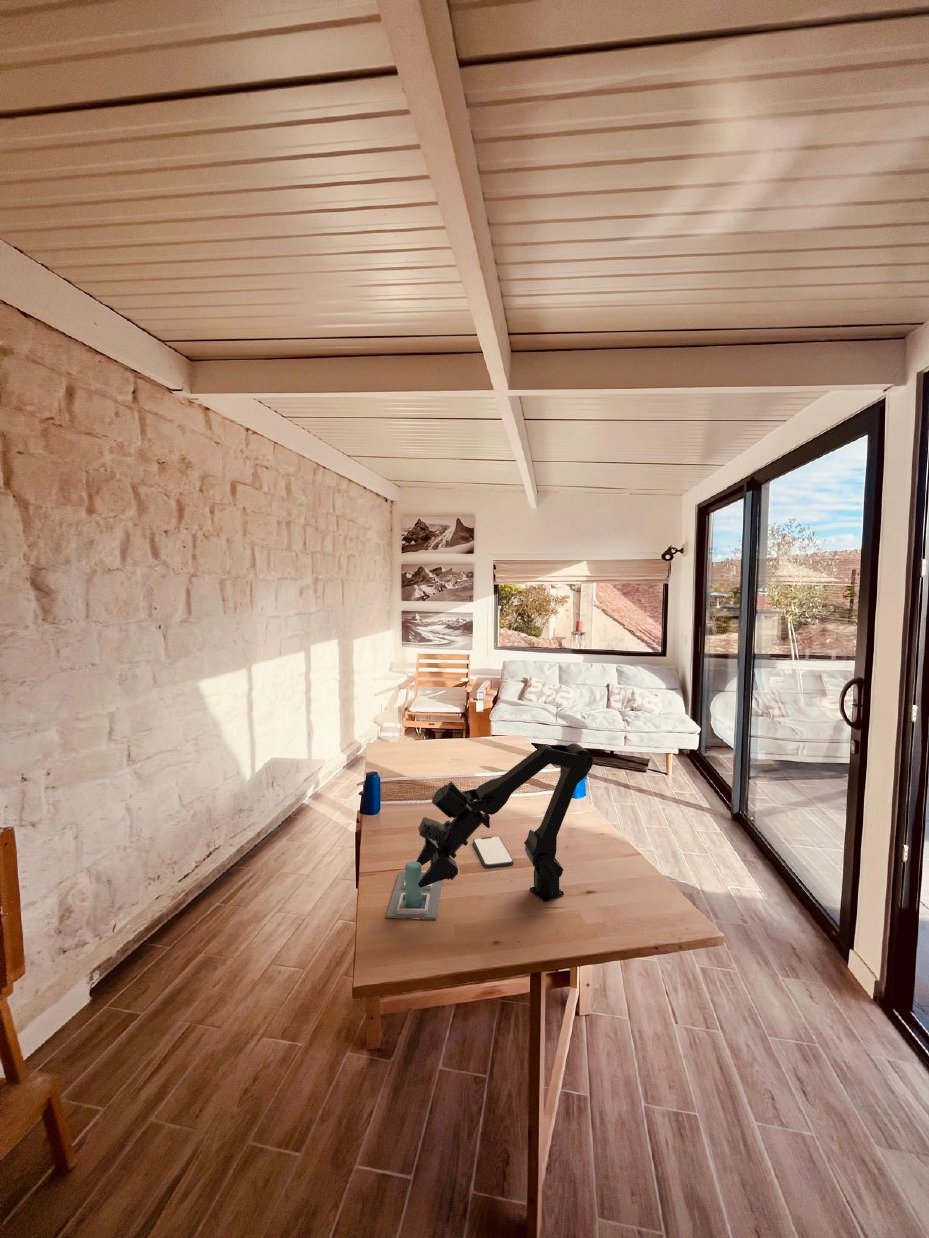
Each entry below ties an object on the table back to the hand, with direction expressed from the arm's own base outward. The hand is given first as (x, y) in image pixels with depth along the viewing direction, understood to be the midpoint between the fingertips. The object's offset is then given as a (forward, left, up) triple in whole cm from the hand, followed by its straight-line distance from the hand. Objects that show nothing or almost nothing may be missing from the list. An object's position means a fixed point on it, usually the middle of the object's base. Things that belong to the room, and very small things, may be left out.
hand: (417, 876), depth 137 cm
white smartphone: (+13, -31, -9) cm, 35 cm away
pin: (0, +1, -7) cm, 7 cm away
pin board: (+5, -2, -8) cm, 10 cm away
